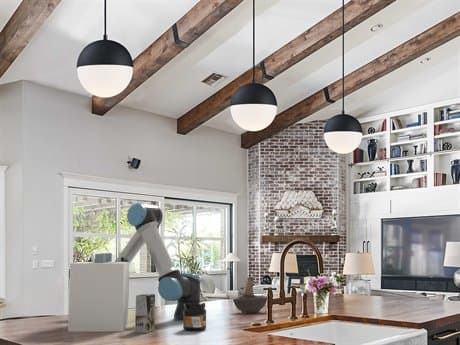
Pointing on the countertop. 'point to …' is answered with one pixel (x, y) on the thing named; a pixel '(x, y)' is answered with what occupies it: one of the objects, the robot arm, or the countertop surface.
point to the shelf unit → (98, 297)
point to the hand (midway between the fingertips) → (105, 254)
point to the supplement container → (194, 316)
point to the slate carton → (103, 257)
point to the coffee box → (145, 313)
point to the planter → (250, 300)
